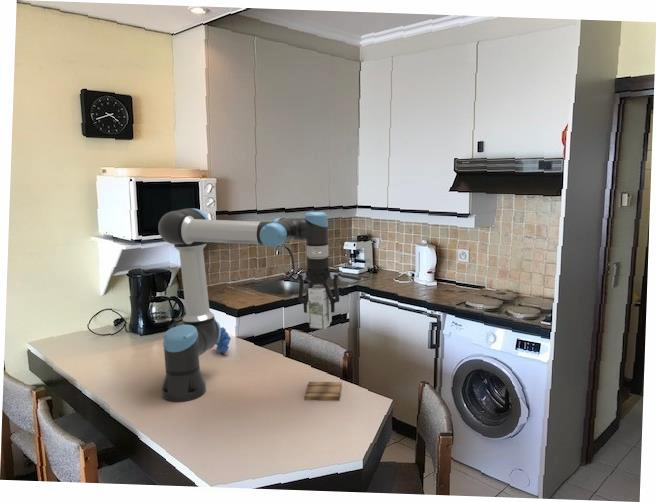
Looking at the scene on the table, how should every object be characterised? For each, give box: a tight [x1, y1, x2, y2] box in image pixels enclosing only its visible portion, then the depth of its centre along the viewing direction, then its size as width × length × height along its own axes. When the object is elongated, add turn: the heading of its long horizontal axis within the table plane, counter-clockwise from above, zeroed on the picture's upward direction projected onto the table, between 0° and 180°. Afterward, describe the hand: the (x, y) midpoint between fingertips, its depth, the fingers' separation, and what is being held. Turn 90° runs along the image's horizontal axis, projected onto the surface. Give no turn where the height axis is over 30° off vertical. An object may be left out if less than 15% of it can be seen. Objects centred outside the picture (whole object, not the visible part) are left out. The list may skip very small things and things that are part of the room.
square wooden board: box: [303, 381, 343, 402], centre depth 184 cm, size 12×12×2 cm
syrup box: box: [307, 284, 331, 330], centre depth 183 cm, size 6×6×14 cm
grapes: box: [215, 326, 231, 355], centre depth 225 cm, size 12×7×12 cm, turn 37°
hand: (319, 321), depth 184 cm, fingers closed on syrup box, 7 cm apart
